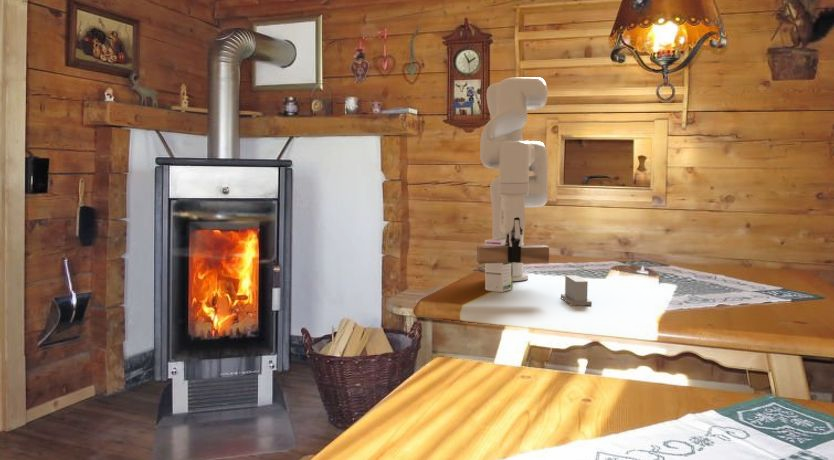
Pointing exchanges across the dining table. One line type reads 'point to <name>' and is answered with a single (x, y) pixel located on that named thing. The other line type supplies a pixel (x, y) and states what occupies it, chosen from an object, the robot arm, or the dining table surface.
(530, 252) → the beam
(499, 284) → the syrup box
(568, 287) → the ridge block
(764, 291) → the dining table surface
